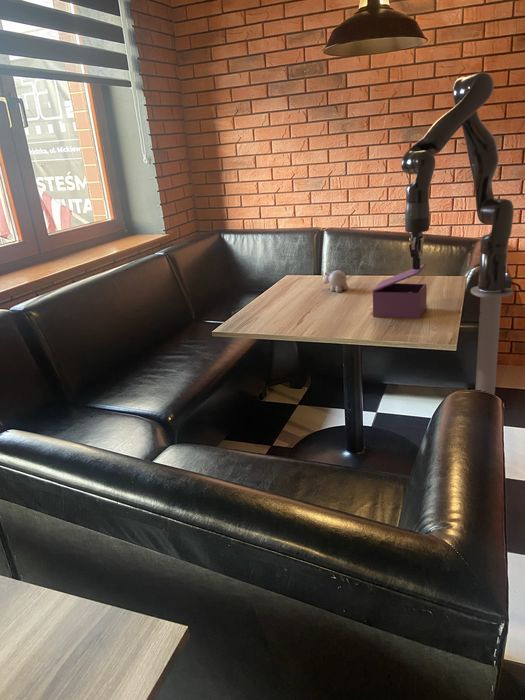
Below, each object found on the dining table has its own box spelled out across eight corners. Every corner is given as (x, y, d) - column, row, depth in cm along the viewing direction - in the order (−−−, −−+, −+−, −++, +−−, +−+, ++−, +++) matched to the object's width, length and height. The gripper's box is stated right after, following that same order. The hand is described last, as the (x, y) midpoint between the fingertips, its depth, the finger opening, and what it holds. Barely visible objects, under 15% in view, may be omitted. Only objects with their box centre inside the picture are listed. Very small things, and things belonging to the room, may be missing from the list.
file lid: (425, 265, 183) (425, 263, 183) (418, 274, 173) (417, 272, 173) (382, 282, 192) (381, 281, 192) (372, 291, 182) (372, 290, 182)
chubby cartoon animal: (330, 286, 229) (329, 266, 226) (350, 289, 220) (349, 269, 217) (318, 289, 225) (316, 270, 222) (338, 293, 216) (337, 273, 213)
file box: (426, 308, 188) (426, 283, 185) (419, 319, 178) (419, 293, 175) (382, 306, 195) (382, 282, 192) (373, 316, 185) (372, 292, 182)
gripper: (425, 218, 165) (424, 273, 172) (432, 212, 176) (431, 264, 183) (400, 219, 169) (400, 273, 175) (409, 213, 180) (409, 264, 186)
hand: (416, 268), depth 179 cm, fingers closed
